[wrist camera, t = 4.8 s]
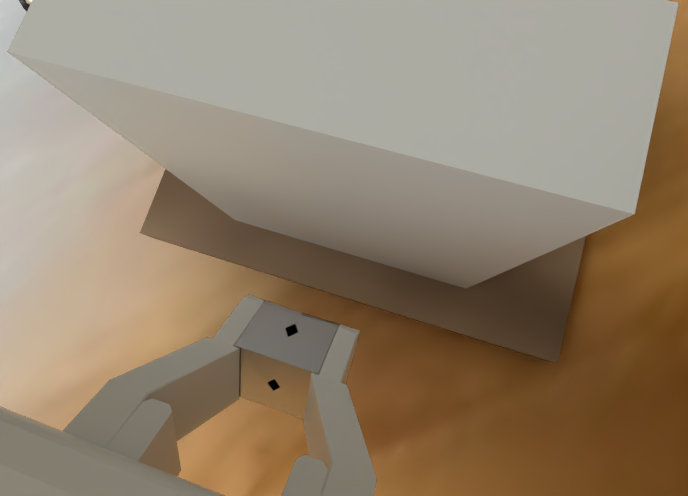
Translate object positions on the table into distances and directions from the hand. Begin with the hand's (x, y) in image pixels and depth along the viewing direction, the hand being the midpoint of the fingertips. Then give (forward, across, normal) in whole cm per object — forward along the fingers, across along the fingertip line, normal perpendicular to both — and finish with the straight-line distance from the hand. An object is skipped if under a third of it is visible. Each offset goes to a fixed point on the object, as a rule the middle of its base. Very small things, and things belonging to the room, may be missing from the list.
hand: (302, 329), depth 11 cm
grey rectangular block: (+6, 0, 0) cm, 6 cm away
